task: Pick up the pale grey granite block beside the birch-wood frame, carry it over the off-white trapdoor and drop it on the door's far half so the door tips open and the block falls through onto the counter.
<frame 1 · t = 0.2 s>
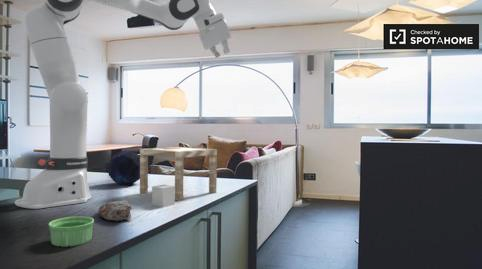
hand: (222, 55, 145), 54 cm above the counter, tool tilted 30°, fingers open, 8 cm apart
trapdoor: (178, 150, 135), point 16 cm above the counter, hinge at 0.0°
decorative orb: (126, 184, 153), on the counter
ramekin: (71, 242, 79), on the counter
stone block: (163, 204, 116), on the counter
trapdoor frame: (178, 193, 135), on the counter
mineral rock: (114, 218, 99), on the counter
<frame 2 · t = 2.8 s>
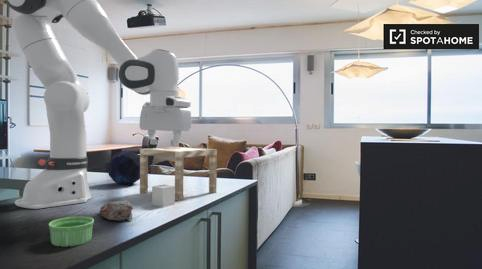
hand: (163, 145, 115), 19 cm above the counter, tool pointing down, fingers open, 8 cm apart
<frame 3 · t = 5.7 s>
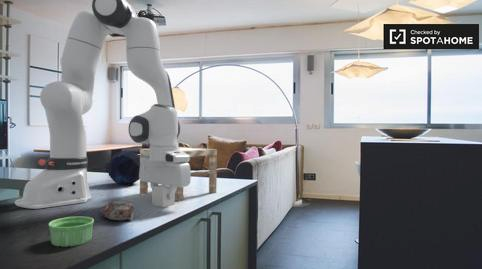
hand: (163, 198, 115), 2 cm above the counter, tool pointing down, fingers closed on stone block, 5 cm apart
stone block: (163, 204, 116), on the counter, touching gripper
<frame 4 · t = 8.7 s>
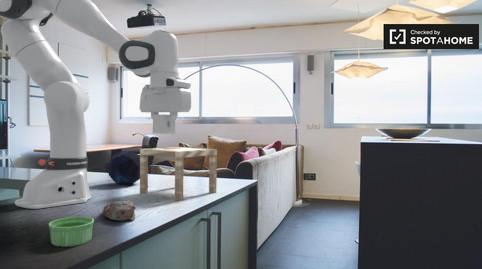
hand: (163, 126, 115), 25 cm above the counter, tool pointing down, fingers closed on stone block, 5 cm apart
stone block: (164, 133, 115), point 23 cm above the counter, touching gripper
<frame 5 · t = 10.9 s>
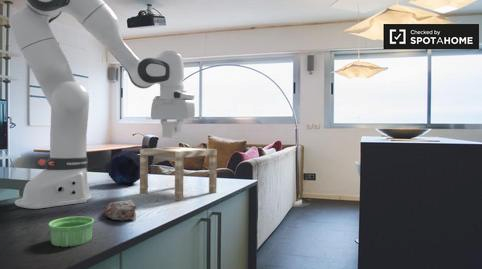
hand: (171, 131, 137), 23 cm above the counter, tool pointing down, fingers closed on stone block, 5 cm apart
stone block: (171, 137, 137), point 21 cm above the counter, touching gripper
when the fingers open (22 cm above the counter, at t = 11.9 s): stone block drops 13 cm and tips over, point 6 cm above the counter.
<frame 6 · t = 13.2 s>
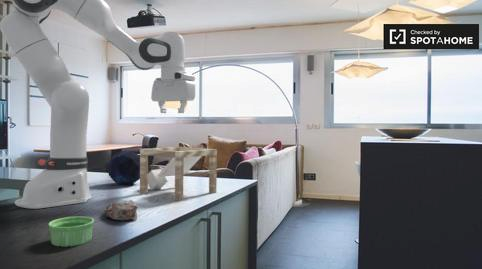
hand: (172, 113, 137), 30 cm above the counter, tool pointing down, fingers open, 8 cm apart
trapdoor: (182, 163, 134), point 11 cm above the counter, hinge at -41.2°
stone block: (152, 173, 143), point 6 cm above the counter, tilted 141°
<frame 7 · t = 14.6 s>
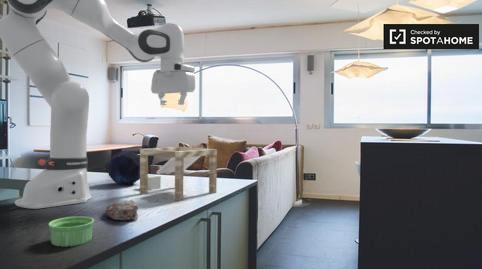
hand: (172, 104, 137), 33 cm above the counter, tool pointing down, fingers open, 8 cm apart
trapdoor: (181, 161, 134), point 12 cm above the counter, hinge at -35.4°
stone block: (145, 181, 146), point 2 cm above the counter, tilted 90°
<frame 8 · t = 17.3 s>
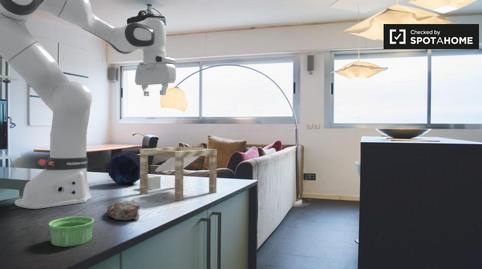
hand: (154, 95, 144), 37 cm above the counter, tool pointing down, fingers open, 8 cm apart
trapdoor: (180, 160, 134), point 12 cm above the counter, hinge at -31.7°
at the end: stone block point 2.4 cm above the counter; stone block inside the target area on the trapdoor frame (12.3 cm from its centre), point 2.4 cm above the trapdoor frame's base; the gripper is holding nothing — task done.
